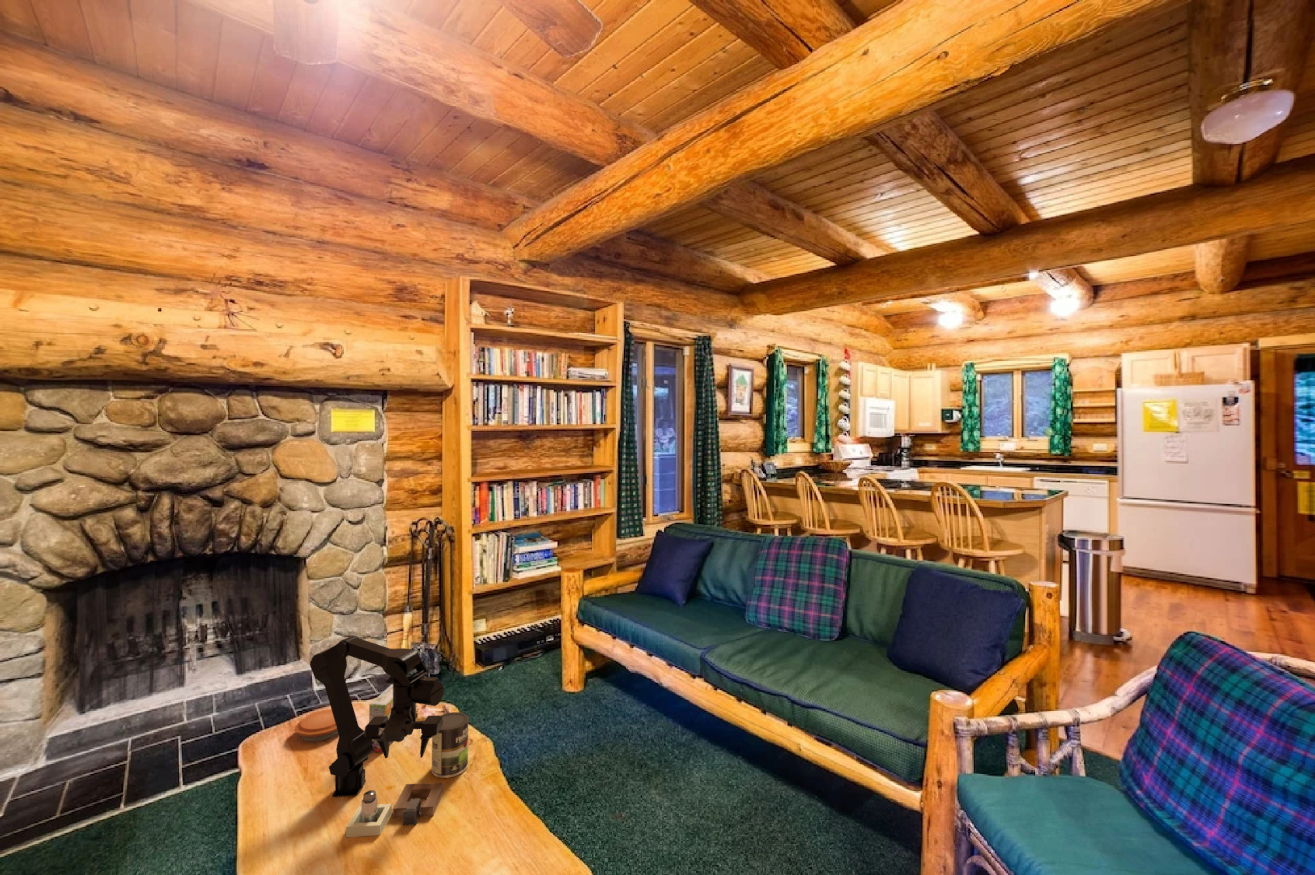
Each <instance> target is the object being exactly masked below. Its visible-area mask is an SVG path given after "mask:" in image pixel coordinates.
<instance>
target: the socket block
mask: <svg viewBox="0 0 1315 875" xmlns="http://www.w3.org/2000/svg"><path fill="white" fill-rule="evenodd" d="M444 784H445V783H444V781H442V782H423V783H421V782H420V783H406V784H405V785H404V787H403V789H402V791H401V793H400V795H399V796H398V799H397V800H396V803H395V804H394V806H393V808H392V819H401V818H402V819H403V811H404V809H406V807H407V805H408V803H409V801H410V799H419V798H421V799H426V800H422V803H421V807H420V814H419V816H420V818H421V817H433V816H434V815H435V813H436V810H437V808H438V806H439V803H440V801H441V798H442V796H443V793H444Z"/></svg>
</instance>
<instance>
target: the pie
mask: <svg viewBox="0 0 1315 875" xmlns="http://www.w3.org/2000/svg"><path fill="white" fill-rule="evenodd" d="M294 732H295V733H296V734H297V735H299V736H301V738H302V739H303V740H304V741H306V742H312V743H316V742H322V741H325V740H329V739H332V738H333V737H336V736H337V735H339V734H338V730H337V727H336V723H335V720H334V716H333V713H332V710H331V709H325V710H320V711H316V712H313V713H310V714H309V715H307V716H306V717H304V718H303V719H301V720H300V721H298V722H297V723H296V725H295V726H294Z"/></svg>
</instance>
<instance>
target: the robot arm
mask: <svg viewBox="0 0 1315 875" xmlns="http://www.w3.org/2000/svg"><path fill="white" fill-rule="evenodd" d="M348 657H351V658H355V659H357V660H360V661H364V662H366V663H369V664H372V665H375V666H378V667H380V668H382V669H383V671H384V673H385V674H386V675H387V676H389V677H388V679H386V680H385V683H386V684H388V685H389V684H390V685H391V684H393V707H392V708H391V714H390V717H389V720H388V717H387V716H374V717H373V718H372V719H371V721H370V722H369V721H368V723H367V724H366V725H365V727H364V729H363V728H361V727H360V726H359V723H358V718H357V716H356V712H355V709H354V706H353V702H352V699H351V695H350V692H349V689H348V686H347V682H346V679H345V677H346V676H345V675H346V671H347V667H348V662H347V661H348V660H347V658H348ZM309 664H310V665H309V667H310V669H311V672H312V674H313V676H314V678H315V680H317V681H318V682H320V683H321V684H322V685H323V686H324V688H325V692H326V696H327V699H328V702H329V706H330V710H332V713H333V716H334V720H335V723H336V727H337V730H338V734H337V735H338V739H337V740H338V741H337V745H336V748H335V749H336V750H335V751H336V759H335V760H334V761H333V762H332V763H331V764H329V766H328V770H329V773H330V775H332V776H334V777H335V778H334V792H332V794H331V797H334V798H335V797H353V796H354V797H355V796H357V795H359V793H360V791H361V790H362V789H363V787H364V786H365V785H366V782H367V779H366V768H364V763H365V762H367V761H368V759H369V756H371V754H372V753H373V752H372V750H373V745H372V744H373V743H374V742H373V741H372V739H373V740H376V741H377V742H378V744H379V745H380V747H381V750H382V752H383V753H382V752H381V753H382V754H383V757H384V758H385V759H388V758H389V754H390V746H389V742H392V743H393V742H395V743H401V742H403V741H404V740H405V737H407V736H411V735H413V732H414V730H420V734H421V735H420V737H419V739H420V748H419V749H420V752H419V755H420V758H423V757H424V755H425V752H426V749H427V746H428V743H429V741H430V739H432V737H433V736H435V735H437V734H438V732H439V730H440V729H441V727H442V725H443V718H442V717H441V715H442V714H441V715H428V716H426V718H425V719H424V720H417V718H418V712H417V704H420V705H425V706H432V707H436V706H438V705H439V704H440V703H441V701H442V700H443V696H444V693H445V687H444V685H443V683H442V682H440V678H439V677H435V676H434V677H431V676H427V675H429V674H430V671H429V670H428V668H427V667H426V665H425V663H424V662H423V660H422V658H421V657H420V655H419V652H418V651H417V650H415V649H413V648H412V649H411V648H405V647H400V648H389V647H386V646H383V645H380V644H378V643H374V642H371V641H368V640H365V639H362V638H360V637H359V636H357V635H350V636H348V637H346V638H344V639H341V640H339V642H337V643H336V644H335V645H333V646H331V647H329V648H327V649H324V650H323V651H320V652H318V653H316V654H314V655H313V656H312V657H311V660H310V662H309ZM414 671H416V672H414ZM413 672H414V673H413ZM411 673H413V674H411ZM409 674H411V675H409Z"/></svg>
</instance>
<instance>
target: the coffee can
mask: <svg viewBox="0 0 1315 875" xmlns="http://www.w3.org/2000/svg"><path fill="white" fill-rule="evenodd" d="M441 717H442V718H443V725H442V727H441V729H440V730H439V732H438V734H437V735H435V736H433V737H432V738H431V774H432V775H433V776H434V777H436V778H441V779H450V778H453V777H456V776H457V777H458V776H459V775H461V774H462V773H465V771H466V770H467V768H468V767H469V720H470V718H469V715H467V714H466V713H463V712H458V711H454V712H447V713H443V714H441Z"/></svg>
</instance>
